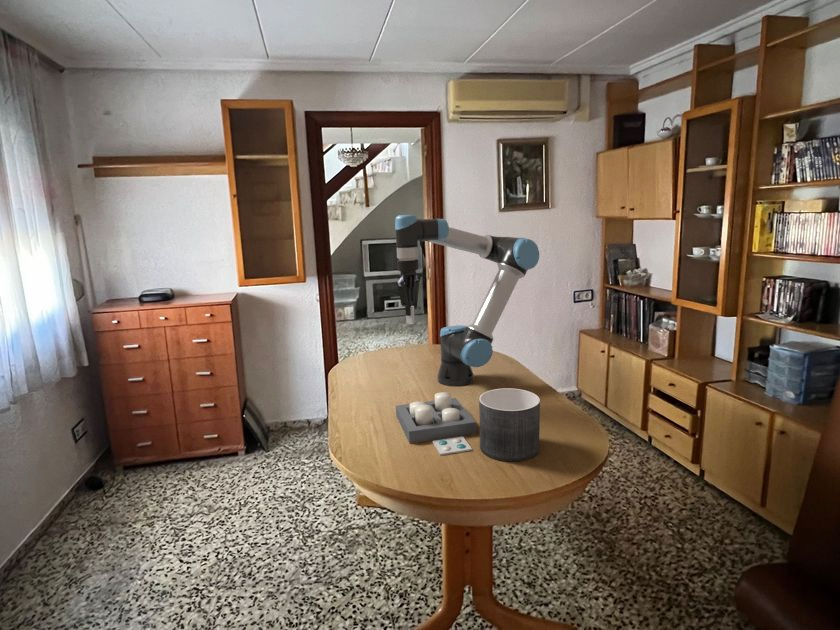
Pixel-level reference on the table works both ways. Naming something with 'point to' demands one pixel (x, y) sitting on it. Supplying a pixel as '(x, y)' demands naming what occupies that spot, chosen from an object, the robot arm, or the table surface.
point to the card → (451, 445)
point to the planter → (509, 424)
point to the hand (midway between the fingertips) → (410, 323)
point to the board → (435, 424)
